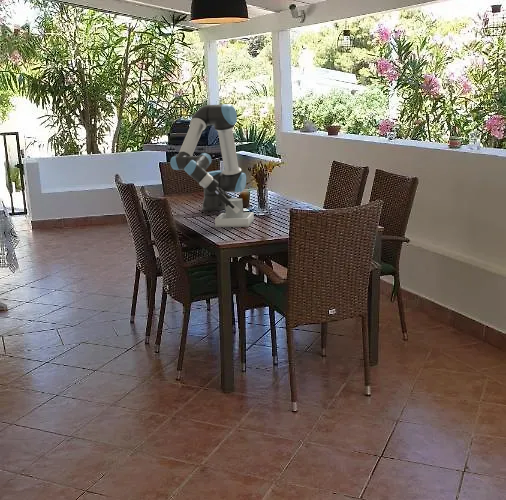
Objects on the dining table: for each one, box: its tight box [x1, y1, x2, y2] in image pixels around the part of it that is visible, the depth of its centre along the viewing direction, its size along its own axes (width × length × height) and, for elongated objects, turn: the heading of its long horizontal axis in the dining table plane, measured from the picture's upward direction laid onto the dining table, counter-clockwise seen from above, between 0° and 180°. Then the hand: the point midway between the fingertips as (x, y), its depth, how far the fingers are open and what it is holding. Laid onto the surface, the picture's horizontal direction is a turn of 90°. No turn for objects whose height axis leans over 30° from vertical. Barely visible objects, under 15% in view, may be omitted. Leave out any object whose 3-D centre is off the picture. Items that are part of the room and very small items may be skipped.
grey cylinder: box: [224, 197, 244, 218], centre depth 384 cm, size 10×10×12 cm
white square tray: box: [214, 211, 255, 228], centre depth 385 cm, size 18×18×4 cm
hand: (238, 209), depth 384 cm, fingers open, 13 cm apart
